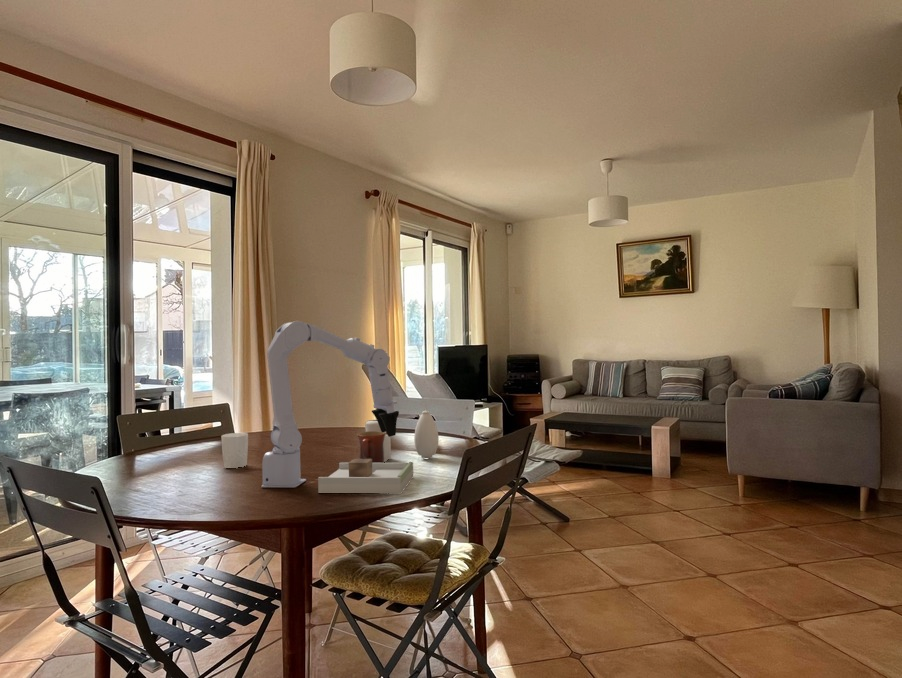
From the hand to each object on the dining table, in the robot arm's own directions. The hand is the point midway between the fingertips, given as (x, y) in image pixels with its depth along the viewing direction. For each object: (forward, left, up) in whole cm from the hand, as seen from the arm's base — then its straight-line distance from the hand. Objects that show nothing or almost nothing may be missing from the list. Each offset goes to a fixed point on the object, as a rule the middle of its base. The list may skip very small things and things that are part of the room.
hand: (388, 433), depth 167 cm
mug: (-6, +2, -11) cm, 13 cm away
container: (-7, +13, -11) cm, 19 cm away
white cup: (-50, +4, -11) cm, 52 cm away
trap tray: (-2, -18, -11) cm, 21 cm away
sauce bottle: (+9, +16, -11) cm, 21 cm away
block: (-4, -18, -8) cm, 20 cm away
